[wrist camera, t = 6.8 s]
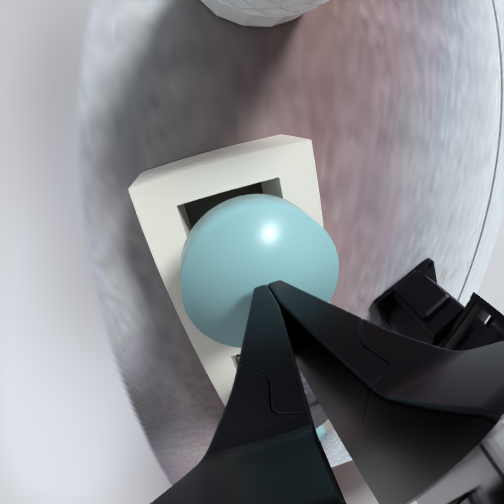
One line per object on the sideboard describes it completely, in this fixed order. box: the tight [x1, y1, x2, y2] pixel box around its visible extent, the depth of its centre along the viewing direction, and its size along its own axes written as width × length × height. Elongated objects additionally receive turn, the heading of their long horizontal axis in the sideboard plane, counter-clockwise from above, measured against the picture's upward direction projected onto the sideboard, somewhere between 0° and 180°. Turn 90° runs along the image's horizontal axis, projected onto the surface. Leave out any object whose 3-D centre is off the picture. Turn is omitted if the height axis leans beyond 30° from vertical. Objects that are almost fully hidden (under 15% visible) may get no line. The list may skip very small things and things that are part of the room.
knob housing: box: [128, 134, 333, 431], centre depth 19 cm, size 25×8×4 cm, turn 14°
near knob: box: [181, 194, 339, 348], centre depth 11 cm, size 5×5×5 cm
